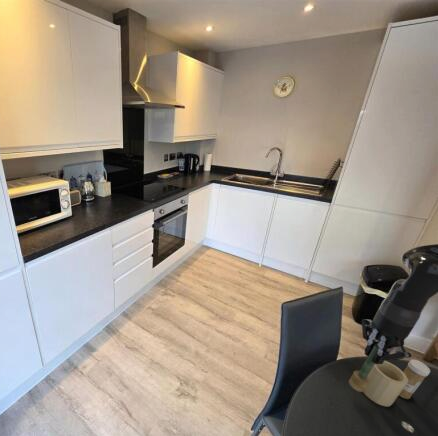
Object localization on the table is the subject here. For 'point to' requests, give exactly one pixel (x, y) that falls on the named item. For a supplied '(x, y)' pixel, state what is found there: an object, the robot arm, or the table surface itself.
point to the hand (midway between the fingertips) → (371, 358)
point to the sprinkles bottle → (414, 377)
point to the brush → (363, 372)
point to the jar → (385, 383)
